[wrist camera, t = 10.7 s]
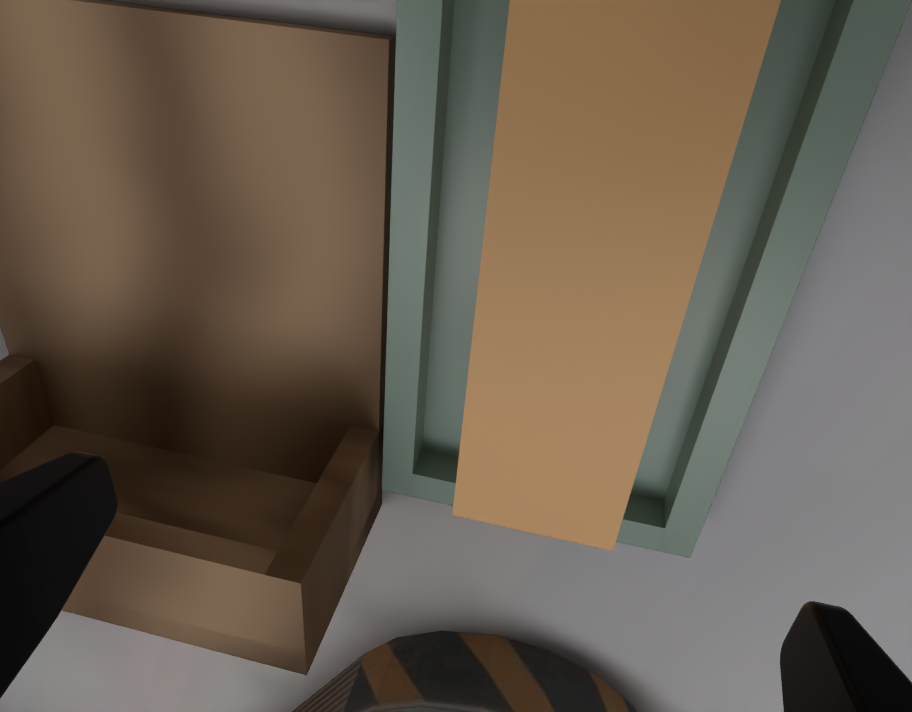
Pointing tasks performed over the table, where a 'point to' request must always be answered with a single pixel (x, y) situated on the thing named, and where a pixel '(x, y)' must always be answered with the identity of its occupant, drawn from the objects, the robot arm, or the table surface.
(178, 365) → the brown open lidded box
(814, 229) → the tray
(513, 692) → the cage light
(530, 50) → the block
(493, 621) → the table surface
